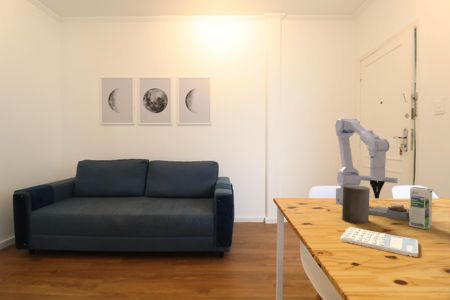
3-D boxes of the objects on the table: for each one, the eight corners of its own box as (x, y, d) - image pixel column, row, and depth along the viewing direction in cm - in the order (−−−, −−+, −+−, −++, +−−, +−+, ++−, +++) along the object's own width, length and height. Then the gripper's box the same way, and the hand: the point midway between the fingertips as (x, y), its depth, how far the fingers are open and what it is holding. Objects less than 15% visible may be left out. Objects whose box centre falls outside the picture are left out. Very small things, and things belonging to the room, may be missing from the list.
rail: (357, 214, 112) (357, 206, 112) (360, 210, 118) (360, 203, 118) (409, 222, 101) (409, 213, 101) (409, 217, 107) (409, 209, 107)
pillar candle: (341, 221, 101) (342, 184, 101) (342, 215, 110) (343, 180, 109) (369, 225, 97) (370, 186, 96) (368, 218, 105) (369, 182, 105)
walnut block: (389, 207, 107) (402, 206, 104) (391, 206, 110) (403, 204, 108) (392, 217, 107) (405, 216, 104) (394, 215, 110) (406, 214, 107)
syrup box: (408, 226, 96) (409, 187, 96) (413, 223, 100) (414, 186, 99) (427, 230, 92) (428, 190, 91) (431, 226, 95) (432, 188, 95)
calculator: (348, 231, 92) (348, 225, 92) (418, 244, 80) (418, 238, 80) (339, 242, 81) (339, 236, 81) (418, 259, 69) (418, 252, 69)
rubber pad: (375, 210, 119) (375, 209, 119) (376, 207, 125) (376, 206, 125) (393, 212, 115) (393, 211, 115) (393, 209, 121) (393, 208, 121)
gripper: (357, 166, 112) (356, 197, 112) (397, 168, 103) (396, 202, 103) (360, 165, 117) (359, 194, 118) (398, 167, 109) (397, 199, 109)
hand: (376, 198), depth 111 cm, fingers closed
